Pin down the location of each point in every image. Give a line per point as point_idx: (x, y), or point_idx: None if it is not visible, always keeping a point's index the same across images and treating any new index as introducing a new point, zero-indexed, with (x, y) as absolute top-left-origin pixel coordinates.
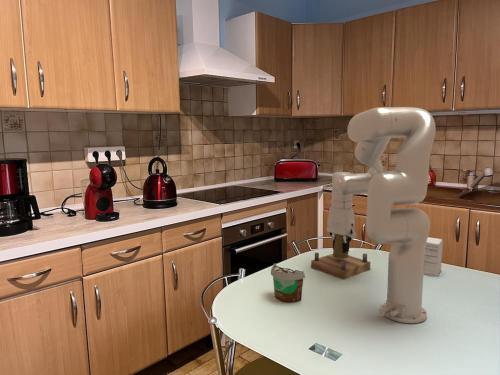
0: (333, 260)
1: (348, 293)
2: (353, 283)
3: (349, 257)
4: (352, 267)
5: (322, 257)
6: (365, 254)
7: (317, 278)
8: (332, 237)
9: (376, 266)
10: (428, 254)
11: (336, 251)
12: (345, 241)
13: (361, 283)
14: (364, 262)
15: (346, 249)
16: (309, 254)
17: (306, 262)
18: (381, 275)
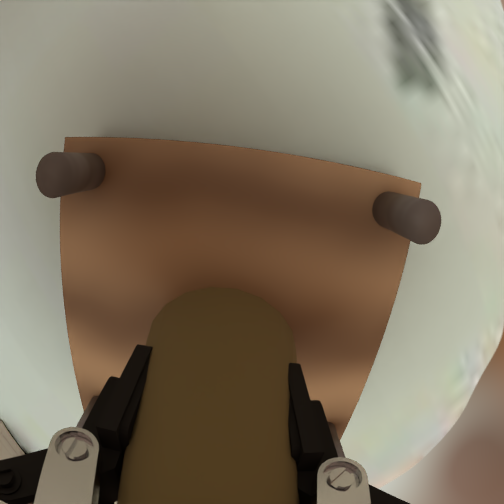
0: (277, 308)
1: (16, 24)
2: (33, 136)
3: None
4: (71, 262)
5: (384, 306)
6: None
7: (240, 33)
8: (355, 488)
9: None
10: None
11: (220, 329)
12: (66, 448)
13: (10, 171)
14: (94, 394)
15: (106, 382)
16: (472, 362)
17: (454, 250)
18: (23, 341)
